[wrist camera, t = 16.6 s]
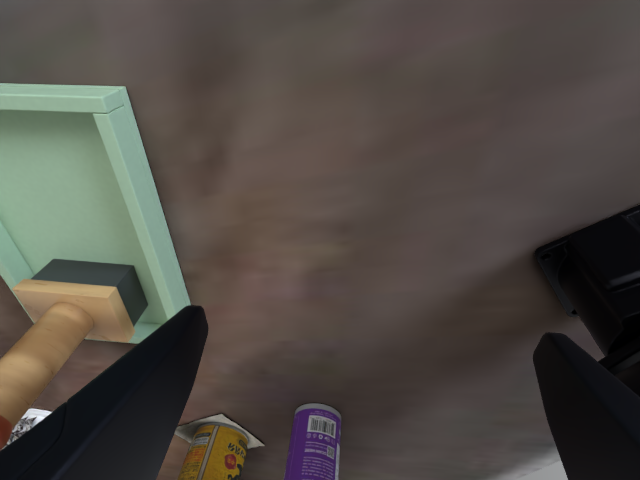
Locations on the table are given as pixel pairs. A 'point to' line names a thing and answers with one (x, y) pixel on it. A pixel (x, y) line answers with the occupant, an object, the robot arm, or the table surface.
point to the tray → (82, 192)
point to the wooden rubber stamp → (64, 326)
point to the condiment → (215, 449)
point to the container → (314, 444)
